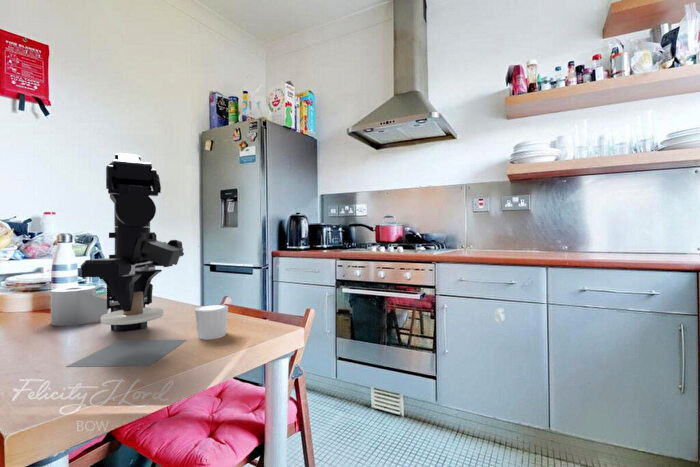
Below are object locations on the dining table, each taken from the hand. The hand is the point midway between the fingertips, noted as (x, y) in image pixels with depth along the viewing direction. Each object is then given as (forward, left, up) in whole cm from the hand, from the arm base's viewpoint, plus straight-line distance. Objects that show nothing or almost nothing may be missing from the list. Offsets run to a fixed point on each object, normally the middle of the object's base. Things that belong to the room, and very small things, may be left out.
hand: (133, 309), depth 64 cm
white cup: (+11, +10, -9) cm, 18 cm away
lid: (0, 0, -2) cm, 2 cm away
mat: (0, 0, -9) cm, 9 cm away
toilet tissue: (-30, +26, -9) cm, 41 cm away
